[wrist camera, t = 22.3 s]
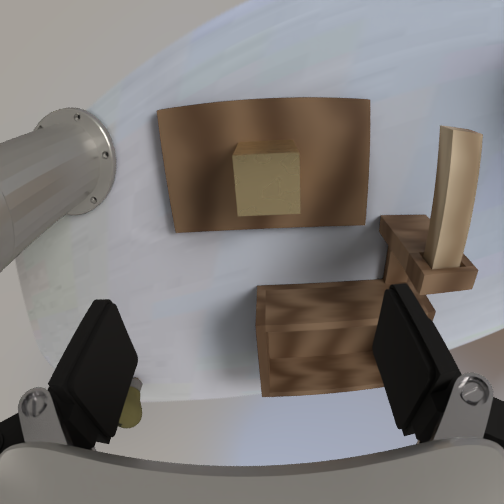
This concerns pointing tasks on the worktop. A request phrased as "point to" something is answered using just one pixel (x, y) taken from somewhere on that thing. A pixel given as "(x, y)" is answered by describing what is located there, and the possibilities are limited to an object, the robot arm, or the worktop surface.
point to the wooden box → (344, 317)
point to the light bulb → (132, 406)
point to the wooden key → (453, 196)
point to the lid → (267, 163)
